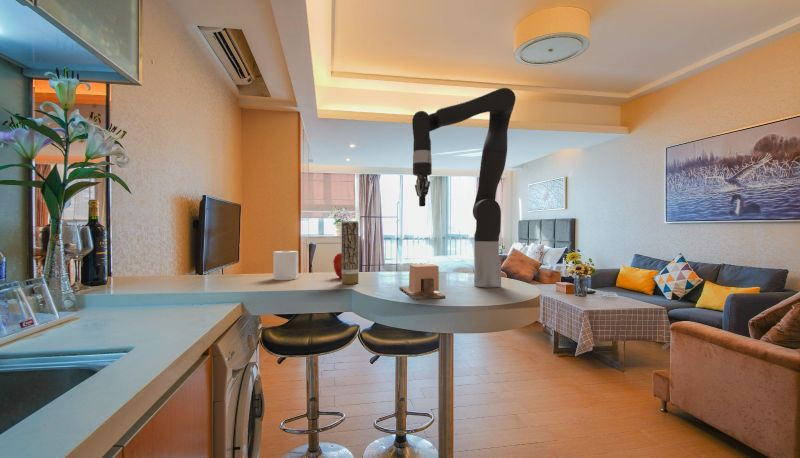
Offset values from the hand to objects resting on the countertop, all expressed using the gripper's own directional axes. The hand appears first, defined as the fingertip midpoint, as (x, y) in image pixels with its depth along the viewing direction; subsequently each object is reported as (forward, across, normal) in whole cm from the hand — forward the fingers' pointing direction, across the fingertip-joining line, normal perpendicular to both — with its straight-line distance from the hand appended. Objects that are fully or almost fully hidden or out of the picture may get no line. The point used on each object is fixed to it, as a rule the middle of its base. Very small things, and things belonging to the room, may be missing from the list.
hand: (422, 206), depth 141 cm
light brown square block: (+29, -25, +7) cm, 39 cm away
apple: (+31, +24, +29) cm, 49 cm away
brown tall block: (+31, +8, +28) cm, 43 cm away
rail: (+31, -20, +7) cm, 38 cm away
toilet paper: (+31, +28, +54) cm, 68 cm away
